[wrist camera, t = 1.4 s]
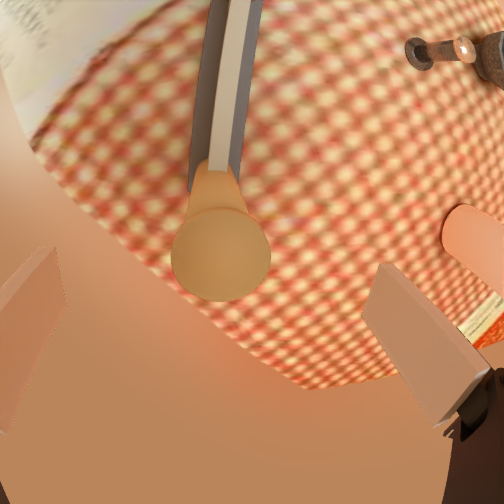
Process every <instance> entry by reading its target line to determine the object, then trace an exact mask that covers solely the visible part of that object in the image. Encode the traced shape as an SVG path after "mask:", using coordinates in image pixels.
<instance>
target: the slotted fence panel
mask: <svg viewBox="0 0 504 504" xmlns="http://www.w3.org/2000/svg"><path fill="white" fill-rule="evenodd" d="M250 2H251V0H229V5H228V10H227V11H228V16H227V22H226V28H225V34H224V40H223V46H222V53H221V59H220V66H219V73H218V80H217V87H216V95H215V103H214V111H213V119H212V128H211V137H210V146H209V156H208V158H207V159H205V160H203V161H202V162H201V163H200V164H199V165H198V167H197V169H196V173H195V177H194V182H193V186H192V190H191V195H190V199H189V204H188V208H187V213H186V218H185V222H184V223H183V224H182V225H181V227H180V228H179V230H178V232H177V233H176V236H175V239H174V243H173V247H172V251H171V265H172V270H173V272H174V275H175V277H176V279H177V280H178V282H179V283H180V284H181V286H182V287H183V288H184V289H185V290H187V291H188V292H189V293H191V294H193V295H194V296H196V297H198V298H201V299H204V300H208V301H214V302H225V301H232V300H236V299H239V298H241V297H243V296H245V295H247V294H249V293H250V292H252V291H253V290H254V289H256V288H257V287H258V286H259V285H260V284H261V282H262V281H263V280H264V278H265V276H266V274H267V272H268V270H269V266H270V261H271V251H270V246H269V243H268V241H267V238H266V236H265V234H264V232H263V230H262V228H261V227H260V225H259V224H258V223H257V222H256V221H255V220H254V219H253V218H252V217H251V216H250V215H249V212H248V210H247V207H246V204H245V202H244V199H243V197H242V194H241V192H240V189H239V187H238V184H237V182H236V179H235V177H234V174H233V172H232V169H231V167H230V165H229V164H228V158H229V149H230V141H231V133H232V125H233V117H234V109H235V101H236V94H237V87H238V79H239V72H240V65H241V59H242V52H243V45H244V39H245V33H246V26H247V20H248V14H249V8H250Z"/></svg>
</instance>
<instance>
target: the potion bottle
mask: <svg viewBox="0 0 504 504" xmlns="http://www.w3.org/2000/svg"><path fill="white" fill-rule="evenodd" d="M442 244H443V247H444V249H445V251H446V252H447V253H449V254H450V255H451V256H453V257H454V258H455V259H456V260H458V261H459V262H460V263H461V264H463V265H464V266H465V267H466V268H468V269H469V270H470V271H471V272H473V273H474V274H475V275H476V276H477V277H479V278H480V279H481V280H482V281H483V282H485V283H486V284H487V285H488V286H489V287H490V288H492V289H493V290H494V291H495V292H496V293H497V294H498V295H499V296H501V297H502V298H503V299H504V224H503V223H501V222H500V221H498V220H496V219H495V218H493V217H491V216H489V215H488V214H486V213H484V212H482V211H480V210H478V209H477V208H475V207H473V206H471V205H468V204H463V205H459V206H458V207H456V208H455V209H453V211H452V212H451V213H450V214H449V215H448V217H447V219H446V221H445V223H444V226H443V230H442Z"/></svg>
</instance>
